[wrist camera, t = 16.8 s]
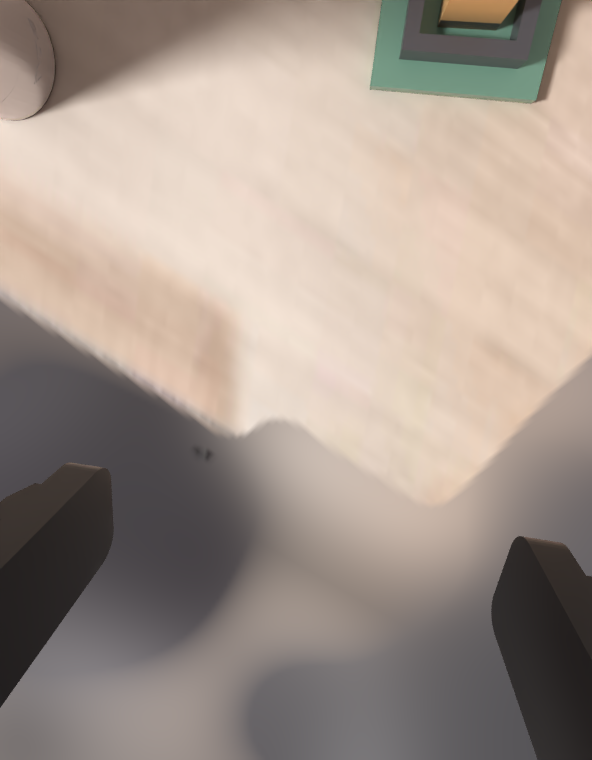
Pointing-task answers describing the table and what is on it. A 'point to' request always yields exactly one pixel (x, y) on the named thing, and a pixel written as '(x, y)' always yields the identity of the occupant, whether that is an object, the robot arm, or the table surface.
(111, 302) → the table surface
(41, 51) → the robot arm
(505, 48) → the board
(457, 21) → the tan cardboard box
